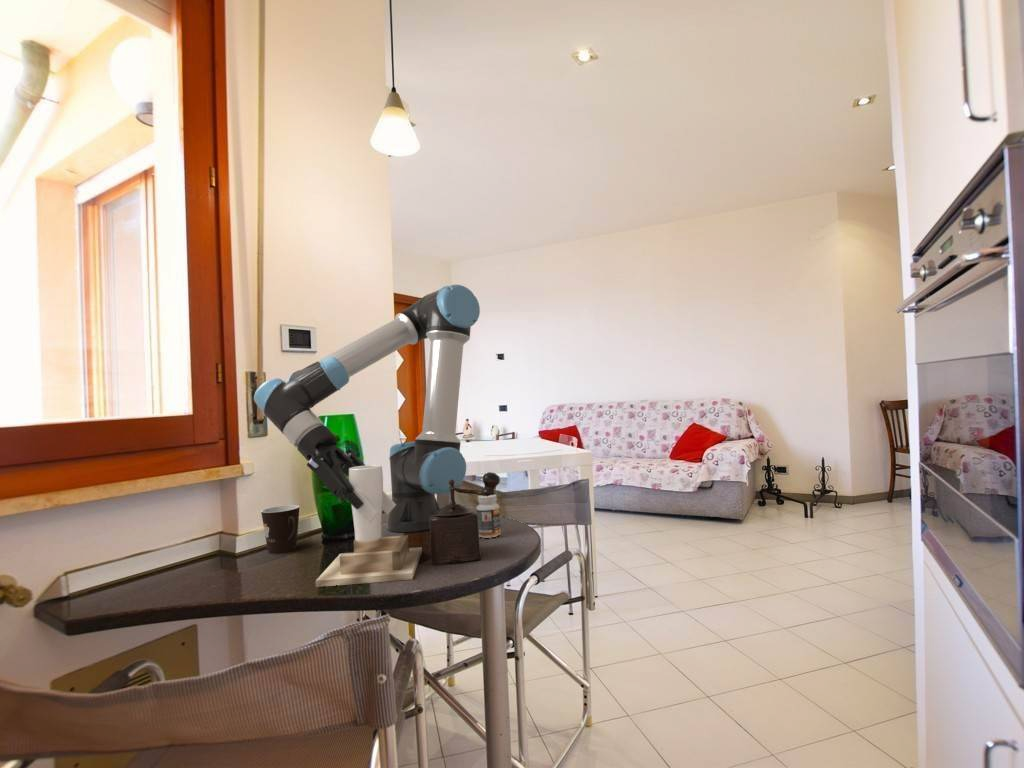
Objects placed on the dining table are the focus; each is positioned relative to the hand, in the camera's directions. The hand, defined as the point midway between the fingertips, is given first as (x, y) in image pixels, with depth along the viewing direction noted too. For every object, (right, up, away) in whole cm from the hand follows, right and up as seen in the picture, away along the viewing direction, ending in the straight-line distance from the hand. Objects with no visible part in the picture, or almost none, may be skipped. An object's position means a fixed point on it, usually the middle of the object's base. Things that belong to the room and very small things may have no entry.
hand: (382, 513), depth 108 cm
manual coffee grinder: (+17, -11, +6) cm, 21 cm away
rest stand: (-2, -12, +1) cm, 12 cm away
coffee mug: (-29, -14, +19) cm, 37 cm away
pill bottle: (+21, -11, +22) cm, 32 cm away
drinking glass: (-3, -6, +1) cm, 7 cm away
